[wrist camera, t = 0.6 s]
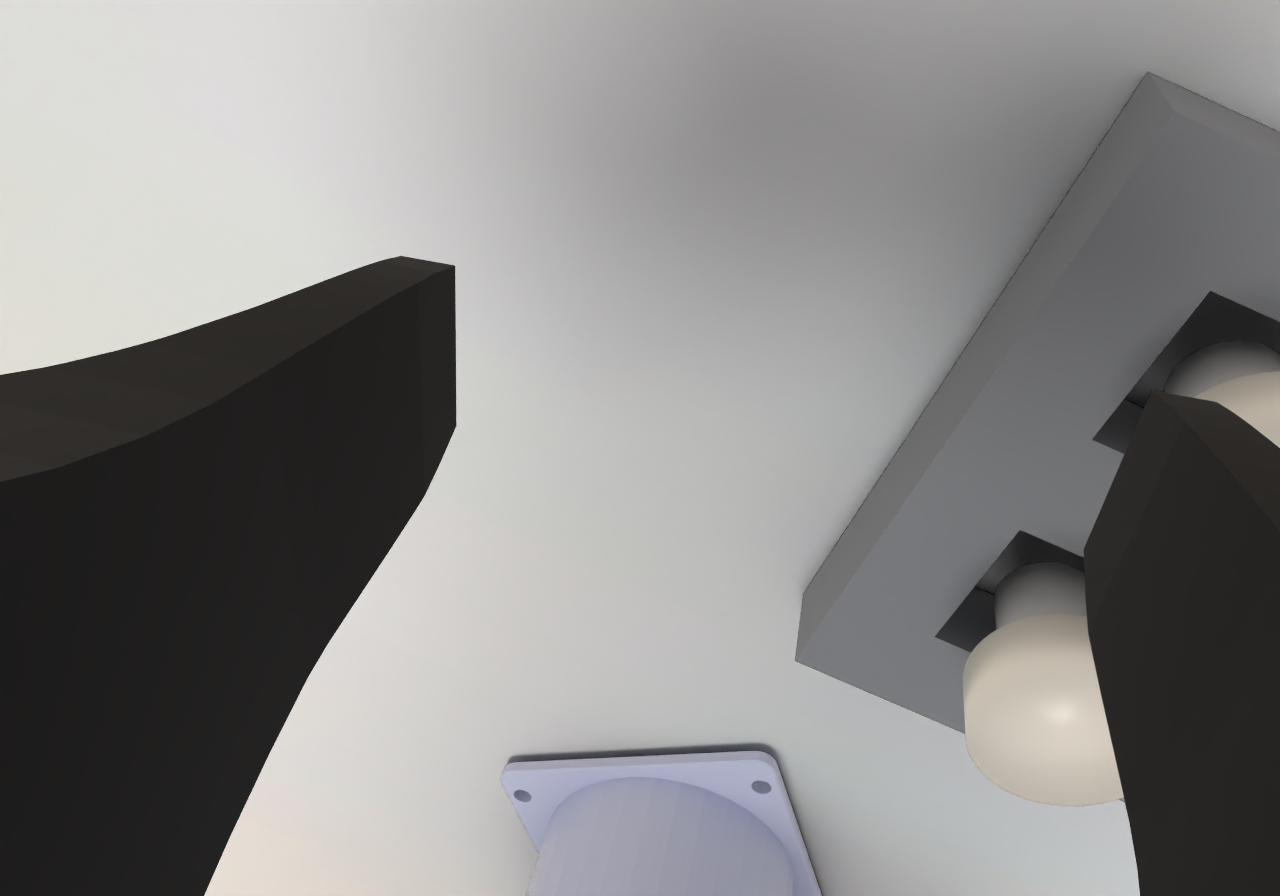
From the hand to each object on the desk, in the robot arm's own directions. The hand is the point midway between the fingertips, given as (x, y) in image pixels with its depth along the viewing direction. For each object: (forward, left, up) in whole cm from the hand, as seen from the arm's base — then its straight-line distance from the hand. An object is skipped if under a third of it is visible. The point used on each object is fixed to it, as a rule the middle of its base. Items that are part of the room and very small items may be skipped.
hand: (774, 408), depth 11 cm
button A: (-10, -2, -8) cm, 13 cm away
